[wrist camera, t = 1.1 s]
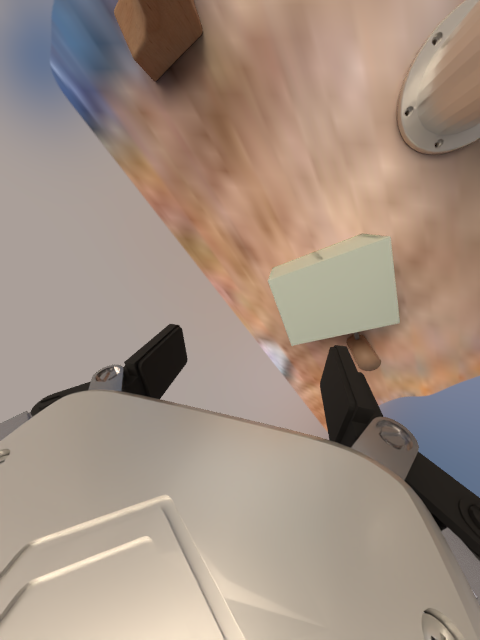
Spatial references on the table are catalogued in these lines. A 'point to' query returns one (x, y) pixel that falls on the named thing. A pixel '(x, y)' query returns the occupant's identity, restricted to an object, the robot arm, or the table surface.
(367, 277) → the cubby shelf
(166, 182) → the table surface
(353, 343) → the corded block
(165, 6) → the wooden block
